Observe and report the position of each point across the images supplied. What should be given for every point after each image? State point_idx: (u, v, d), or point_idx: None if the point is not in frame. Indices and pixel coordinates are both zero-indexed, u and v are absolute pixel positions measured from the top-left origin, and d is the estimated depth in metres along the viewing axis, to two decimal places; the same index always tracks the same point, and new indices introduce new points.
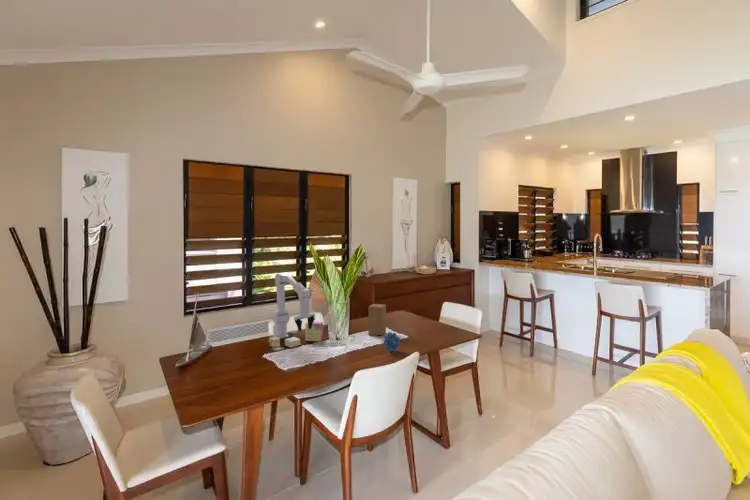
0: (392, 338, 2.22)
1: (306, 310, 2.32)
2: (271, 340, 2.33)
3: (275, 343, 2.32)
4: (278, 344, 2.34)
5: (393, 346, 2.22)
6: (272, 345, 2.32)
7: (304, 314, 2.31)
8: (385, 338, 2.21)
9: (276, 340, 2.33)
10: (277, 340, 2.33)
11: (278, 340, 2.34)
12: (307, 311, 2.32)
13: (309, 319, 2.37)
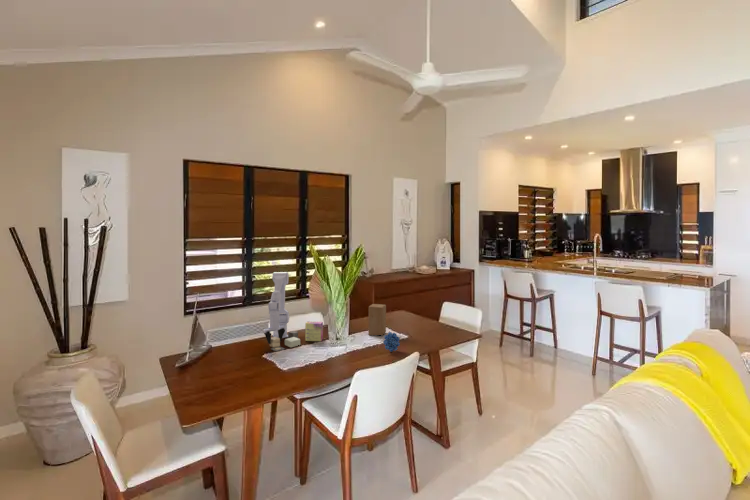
0: (392, 338, 2.22)
1: (275, 322, 2.31)
2: (271, 340, 2.33)
3: (275, 343, 2.32)
4: (278, 344, 2.34)
5: (393, 346, 2.22)
6: (272, 345, 2.32)
7: (273, 327, 2.31)
8: (385, 338, 2.21)
9: (276, 340, 2.33)
10: (277, 340, 2.33)
11: (278, 340, 2.34)
12: (277, 323, 2.32)
13: (279, 331, 2.37)
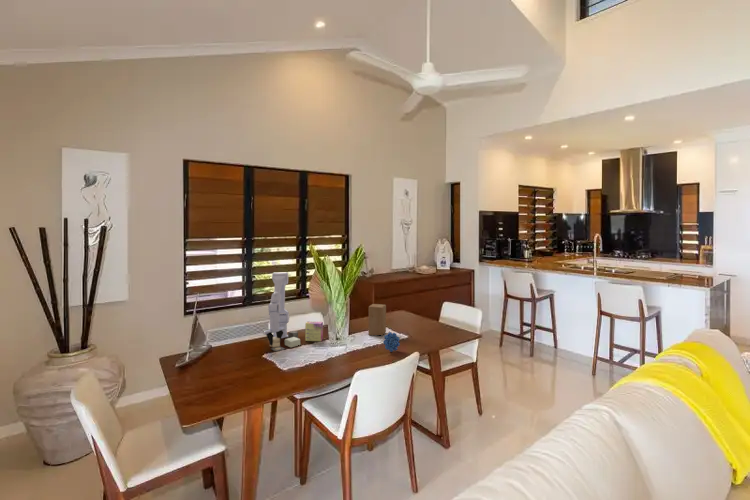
0: (392, 338, 2.22)
1: (275, 324, 2.31)
2: None
3: (275, 343, 2.32)
4: (278, 344, 2.34)
5: (393, 346, 2.22)
6: (272, 345, 2.32)
7: (273, 328, 2.31)
8: (385, 338, 2.21)
9: (276, 340, 2.33)
10: (277, 340, 2.33)
11: (278, 340, 2.34)
12: (277, 325, 2.32)
13: (277, 333, 2.36)
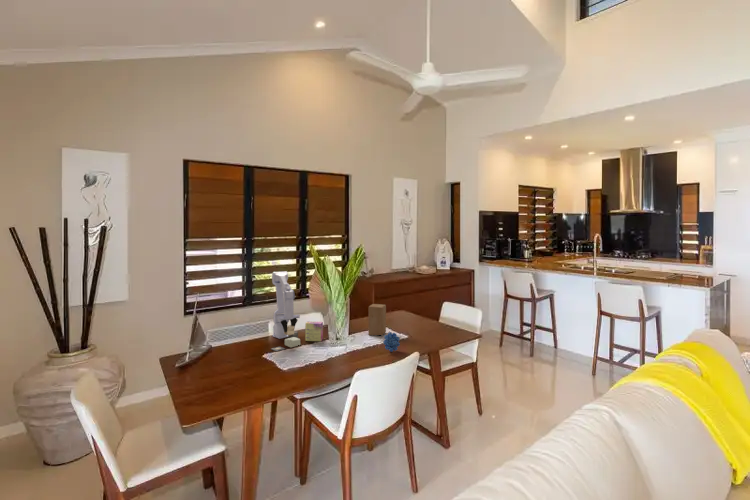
0: (392, 338, 2.22)
1: (290, 311, 2.33)
2: None
3: (290, 331, 2.33)
4: (292, 332, 2.35)
5: (393, 346, 2.22)
6: (287, 333, 2.33)
7: (288, 315, 2.32)
8: (385, 338, 2.21)
9: (291, 328, 2.34)
10: (291, 328, 2.34)
11: (292, 328, 2.35)
12: (291, 312, 2.33)
13: (292, 321, 2.37)
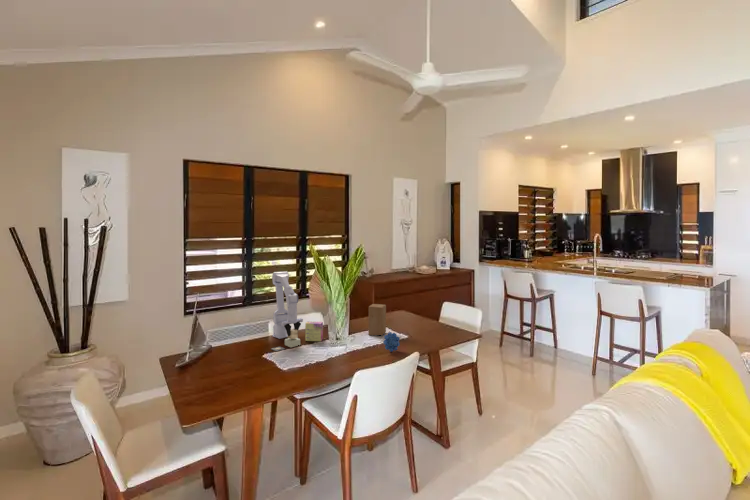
0: (392, 338, 2.22)
1: (293, 315, 2.33)
2: None
3: (293, 334, 2.34)
4: (296, 336, 2.36)
5: (393, 346, 2.22)
6: (290, 336, 2.34)
7: (291, 319, 2.33)
8: (385, 338, 2.21)
9: (294, 332, 2.34)
10: (295, 332, 2.35)
11: (296, 332, 2.35)
12: (294, 316, 2.34)
13: (295, 324, 2.38)
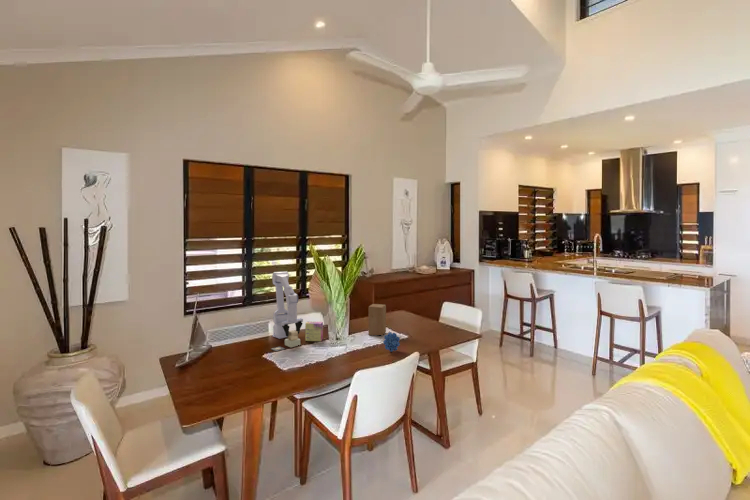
0: (392, 338, 2.22)
1: (293, 315, 2.33)
2: (289, 333, 2.35)
3: (293, 336, 2.34)
4: (296, 337, 2.36)
5: (393, 346, 2.22)
6: (290, 338, 2.34)
7: (291, 319, 2.33)
8: (385, 338, 2.21)
9: (294, 333, 2.35)
10: (295, 333, 2.35)
11: (296, 333, 2.36)
12: (294, 316, 2.34)
13: (297, 324, 2.39)
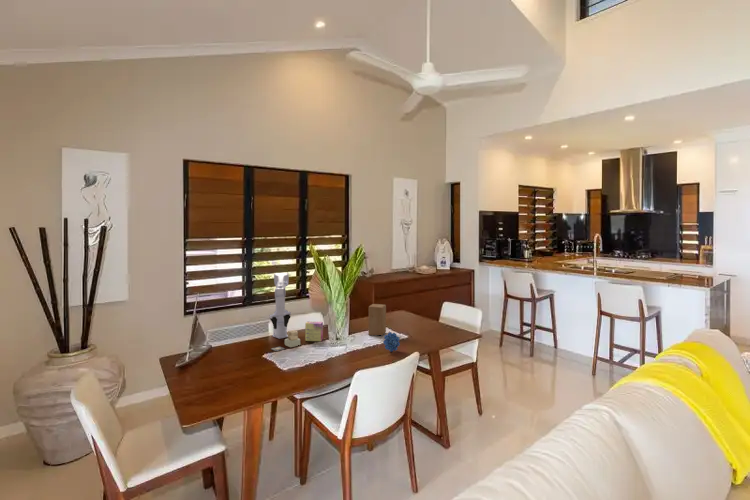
0: (392, 338, 2.22)
1: (281, 308, 2.37)
2: (289, 333, 2.35)
3: (293, 336, 2.34)
4: (296, 337, 2.36)
5: (393, 346, 2.22)
6: (290, 338, 2.34)
7: (279, 312, 2.37)
8: (385, 338, 2.21)
9: (294, 333, 2.35)
10: (295, 333, 2.35)
11: (296, 333, 2.36)
12: (282, 309, 2.38)
13: (285, 317, 2.43)
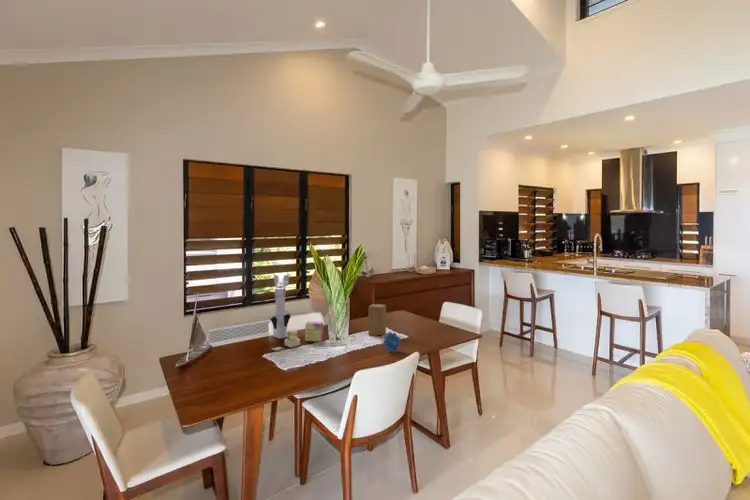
0: (392, 338, 2.22)
1: (281, 308, 2.37)
2: (289, 333, 2.35)
3: (292, 336, 2.34)
4: (295, 337, 2.36)
5: (393, 346, 2.22)
6: (289, 338, 2.34)
7: (279, 312, 2.37)
8: (385, 338, 2.21)
9: (293, 333, 2.35)
10: (294, 333, 2.35)
11: (295, 333, 2.35)
12: (282, 309, 2.38)
13: (285, 317, 2.43)
